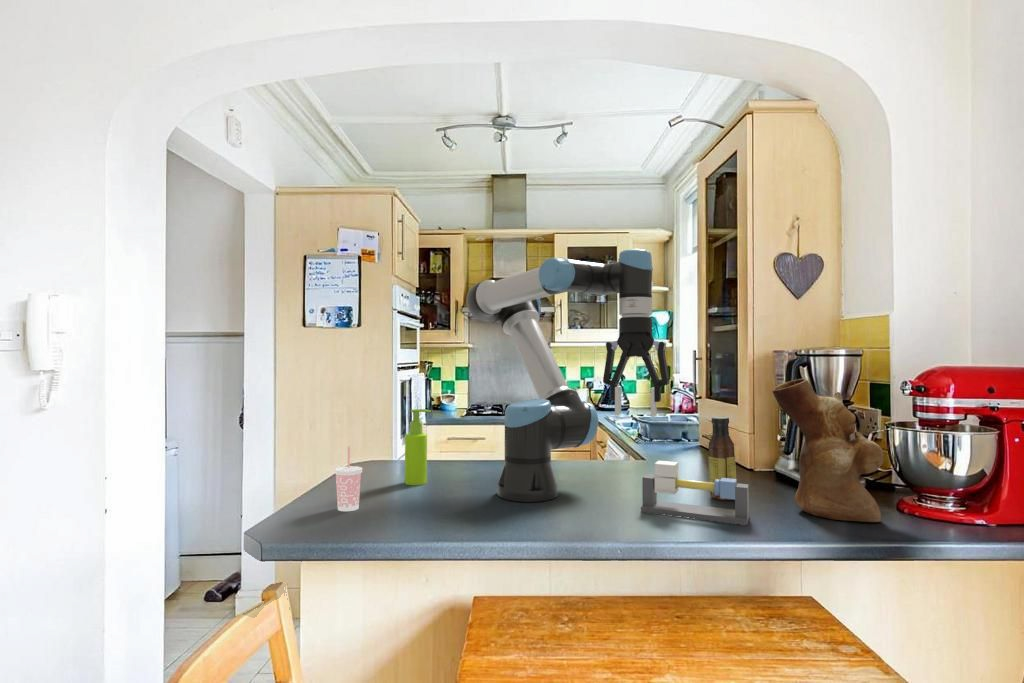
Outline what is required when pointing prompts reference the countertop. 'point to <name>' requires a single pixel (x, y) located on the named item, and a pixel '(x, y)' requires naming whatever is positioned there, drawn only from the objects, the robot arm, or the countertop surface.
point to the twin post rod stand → (721, 488)
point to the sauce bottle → (721, 453)
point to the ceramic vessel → (830, 455)
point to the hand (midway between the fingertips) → (635, 415)
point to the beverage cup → (348, 486)
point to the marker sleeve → (666, 477)
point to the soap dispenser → (416, 452)
